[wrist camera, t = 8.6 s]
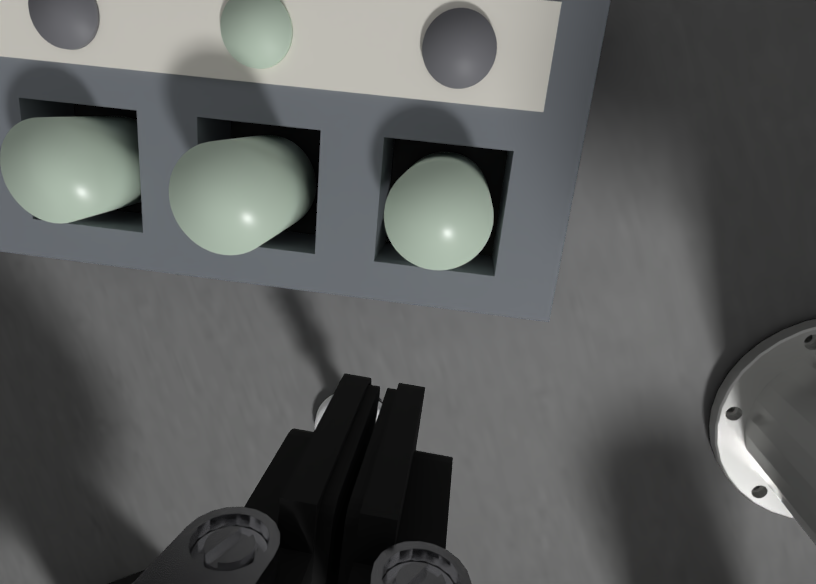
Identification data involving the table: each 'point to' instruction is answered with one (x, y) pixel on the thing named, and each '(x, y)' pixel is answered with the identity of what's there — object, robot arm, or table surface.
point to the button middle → (241, 191)
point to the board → (319, 127)
